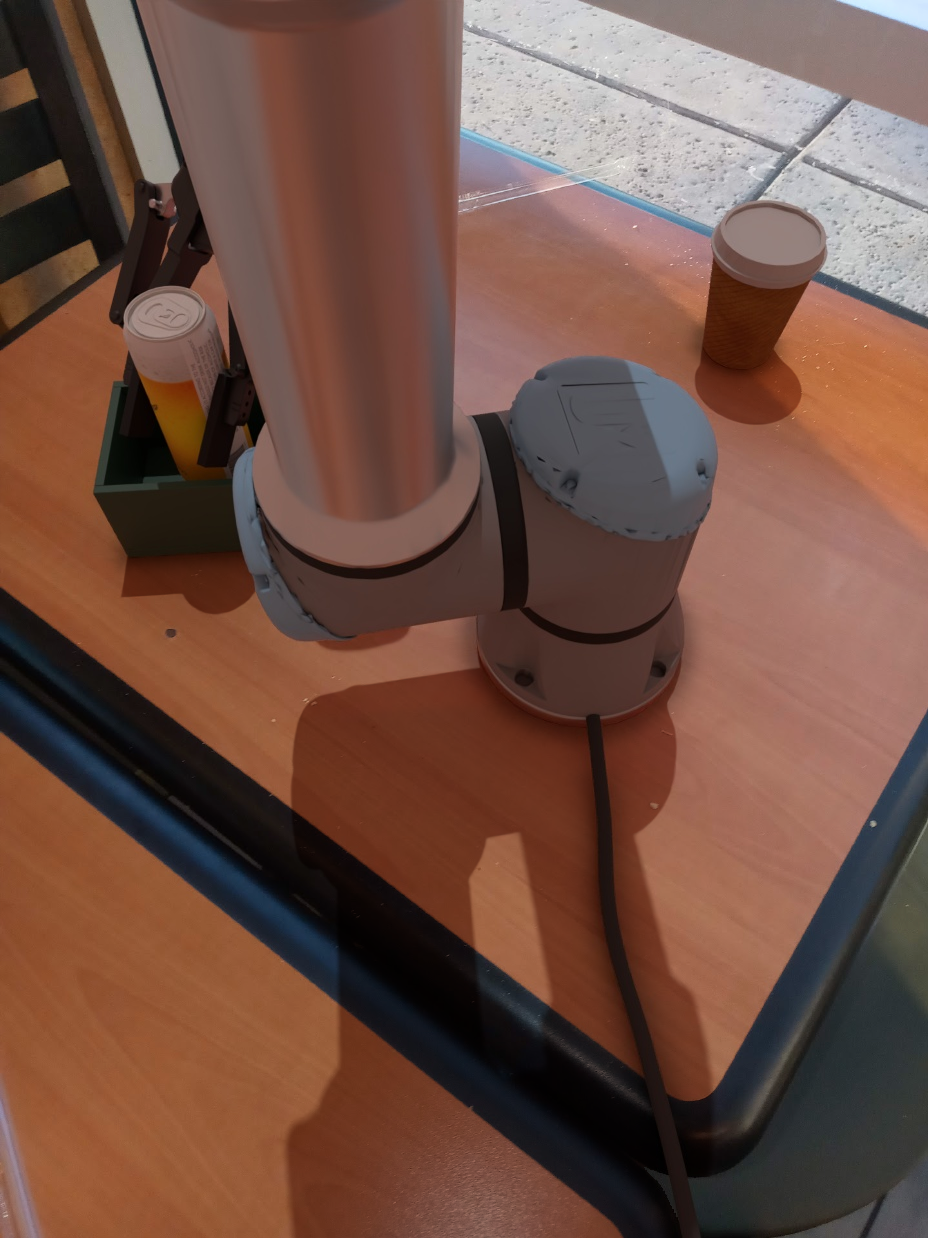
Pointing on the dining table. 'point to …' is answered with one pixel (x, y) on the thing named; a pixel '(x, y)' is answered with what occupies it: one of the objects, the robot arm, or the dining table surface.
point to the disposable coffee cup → (758, 278)
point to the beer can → (180, 371)
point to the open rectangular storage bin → (162, 492)
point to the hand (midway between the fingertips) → (173, 449)
